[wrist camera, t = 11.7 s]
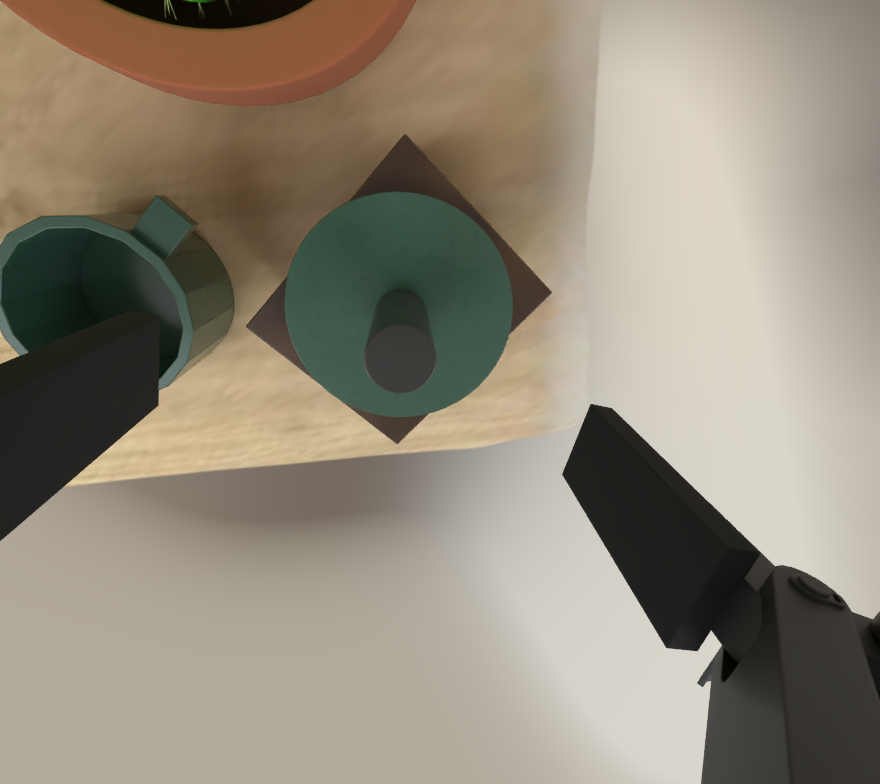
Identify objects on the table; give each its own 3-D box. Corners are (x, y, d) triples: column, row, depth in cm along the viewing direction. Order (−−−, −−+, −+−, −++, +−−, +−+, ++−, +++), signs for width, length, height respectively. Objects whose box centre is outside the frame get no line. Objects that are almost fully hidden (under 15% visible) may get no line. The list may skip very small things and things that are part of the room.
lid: (243, 316, 26) (167, 370, 18) (391, 134, 23) (385, 95, 15) (408, 445, 30) (410, 538, 22) (552, 305, 27) (618, 351, 19)
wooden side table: (288, 292, 37) (245, 326, 27) (404, 154, 33) (405, 133, 23) (398, 384, 40) (397, 445, 30) (512, 268, 37) (552, 292, 27)
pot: (30, 320, 36) (-66, 350, 29) (147, 146, 32) (70, 129, 25) (165, 409, 40) (111, 456, 32) (284, 264, 36) (253, 279, 28)
